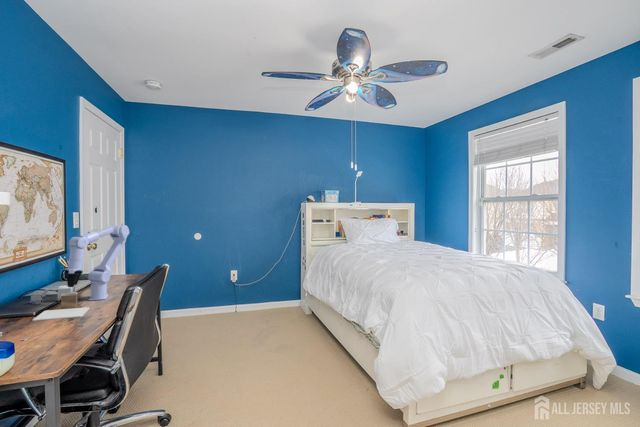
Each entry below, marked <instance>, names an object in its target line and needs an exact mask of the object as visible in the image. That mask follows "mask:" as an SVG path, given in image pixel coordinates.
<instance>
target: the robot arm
mask: <svg viewBox="0 0 640 427" xmlns="http://www.w3.org/2000/svg"><path fill="white" fill-rule="evenodd" d="M106 235H109V236H110V237H111V239H112V240H113V243H112V245H111V246H110V248H109V249H108V251H107V253H106V254H105V255H104V257H103V259H102V261H101V262H100V264H99V265H97V266H96V267H94V268H93V269H92V270H91V271H90V272H89V273H88V276H87V280H89V284H90V297H89V299H88V301H98V300H99V301H100V300H101V301H102V300H106V299H107V298H108V297H109V294H108V282H109V281H110V279H111V276H112V273H113V271H112V269H111V268H112V266H113V264H114V262H116V259H117V258H118V256H119V254H120V252H121V250H122V249H123V248H124V245H125V243H126V241H127V238H128V236H129V235H130V229H129V227H128V225H126V224H125V225H124V224H123V225H120V224H111V225H108V226H107V227H104V228H102V229H99V230H97V231H92V230H89V231H87V232H86V233H84V234H80V235H79V236H73V237H71V238H70V239H69V241H68V242H67V245H68V246H69V256H68V265H67V267H65V268H64V270H65V271H68V272H65V273H64V276H65V278H66V282H67V283H66V284H67V286H68V287H74V286H76V285H78V282H79V279H80V278H81V275H82V274H83V272H84V271H83V268H82V267H83V261H84V253H85V252H84V251H85V248H86V247H87V246H88V245H90V244H92V243H94V242H97V241H98V240H99V238H101V237H104V236H106Z"/></svg>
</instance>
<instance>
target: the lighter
mask: <svg viewBox="0 0 640 427" xmlns="http://www.w3.org/2000/svg"><path fill="white" fill-rule="evenodd" d="M49 291H50V288H47V287H46V288H45V289H44V290H43V293H42V294H40V293H34V294H32V295H31V296H30V302H31V301H36V300H42V301H43V297H45V296H46V295H47V294H48V292H49Z"/></svg>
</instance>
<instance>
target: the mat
mask: <svg viewBox="0 0 640 427" xmlns="http://www.w3.org/2000/svg"><path fill="white" fill-rule="evenodd" d="M88 310H90V307H88V306H87V307H86V306H85V307H77V308H72V309H61V308H59V309H47V310H44V311H42V312H41V313H39V314H38V315H37V316H36V317H34V318H33V319H31V320H32V321H31V322H37V321H50V320H59V319H60V320H61V319H71V318H72V319H73V318H81V317H83V316H84V315H85V314H86V313H87V312H88Z"/></svg>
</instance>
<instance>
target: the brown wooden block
mask: <svg viewBox="0 0 640 427" xmlns="http://www.w3.org/2000/svg"><path fill="white" fill-rule="evenodd" d="M72 308H78V291H75V292H71V293H62V294H61V302H60V309H72Z"/></svg>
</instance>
